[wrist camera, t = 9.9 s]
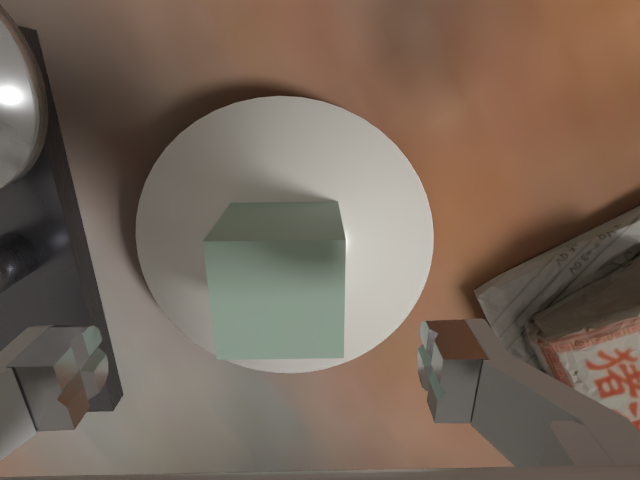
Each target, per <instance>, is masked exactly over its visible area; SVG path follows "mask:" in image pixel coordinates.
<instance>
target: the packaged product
mask: <svg viewBox="0 0 640 480" xmlns="http://www.w3.org/2000/svg"><path fill="white" fill-rule="evenodd" d="M473 291H474V293H475V295H476V297H477V299H478V302H479V304H480V306H481V308H482V310H483V312H484V314H485V316H486V318H487V320H488V323H489V325H490V327H491V329H492V330H493V332H494V333H495V335H496V336H497V337H498V339H499V340H500V342H501V343H502V344H503V346H504V347H505V349H506V350H507V352H508V353H509V354H510V356H511V357H512V359H520V360H522V361H523V362H525V363H527V364H529V365H531V366H533V367H534V368H536V369H538V370H540V371H542V372H543V373H545V374H547V375H549V376H551V377H553V378H554V379H556V380H558V381H560V382H562V383H564V384H565V385H567V386H569V387H571V388H573V389H575V390H576V391H578V392H580V393H582V394H584V395H586V396H587V397H589V398H591V399H593V400H595V401H597V402H598V403H600V404H602V405H604V406H606V407H607V408H609V409H611V410H613V411H615V412H617V413H618V414H620V415H622V416H624V417H626V418H628V420H629V421H630V422H631V423H632V424H633V425H634V426H635V427H636V428H637V429H638V431H639V432H640V206H638V207H636V208H634V209H632V210H630V211H628V212H626V213H624V214H622V215H620V216H618V217H616V218H614V219H612V220H610V221H608V222H606V223H604V224H602V225H600V226H598V227H596V228H594V229H592V230H590V231H588V232H586V233H583V234H581V235H579V236H577V237H575V238H573V239H571V240H569V241H567V242H565V243H563V244H561V245H559V246H557V247H555V248H553V249H551V250H549V251H547V252H545V253H543V254H540V255H538V256H536V257H534V258H532V259H530V260H528V261H526V262H524V263H522V264H520V265H518V266H516V267H514V268H512V269H510V270H508V271H506V272H504V273H502V274H500V275H498V276H496V277H495V278H493V279H491V280H490V281H488V282H486V283H485V284H483V285H482V286H480V287H478V288H477V289H475V290H473Z"/></svg>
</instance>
